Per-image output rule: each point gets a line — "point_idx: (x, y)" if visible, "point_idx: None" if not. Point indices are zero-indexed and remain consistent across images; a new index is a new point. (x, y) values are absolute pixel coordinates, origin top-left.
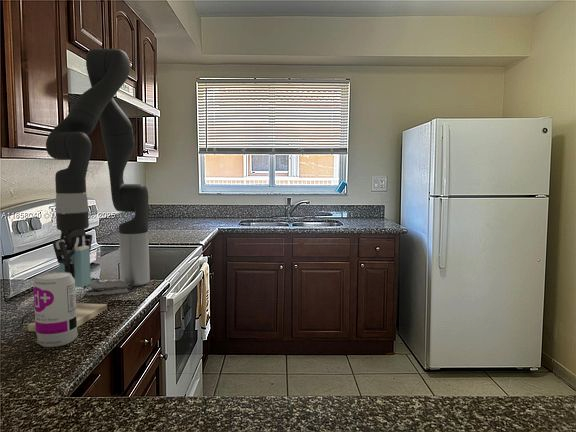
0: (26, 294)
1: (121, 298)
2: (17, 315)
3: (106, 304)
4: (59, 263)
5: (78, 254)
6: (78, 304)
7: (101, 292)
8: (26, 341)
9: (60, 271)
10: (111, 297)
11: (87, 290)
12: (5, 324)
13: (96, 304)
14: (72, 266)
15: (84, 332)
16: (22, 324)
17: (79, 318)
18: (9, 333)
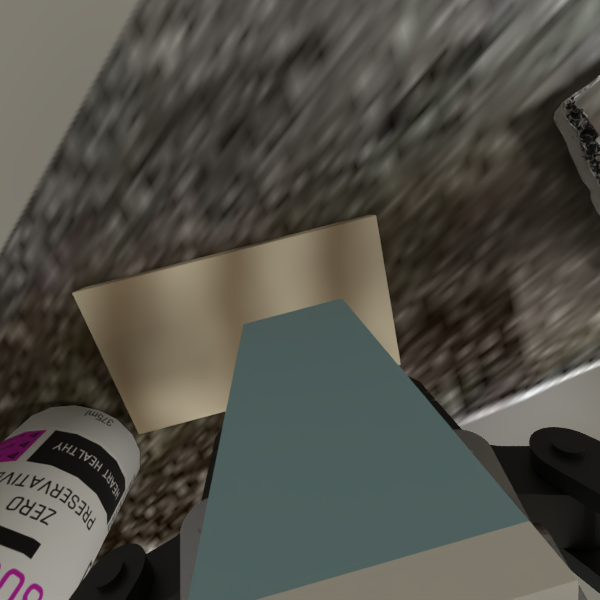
0: None
1: (535, 296)
2: (191, 40)
3: (398, 364)
4: (225, 420)
5: None
6: (363, 259)
7: (587, 168)
8: (22, 369)
9: (236, 377)
10: (543, 246)
11: (576, 107)
12: (81, 114)
13: (387, 329)
14: None
15: (179, 458)
16: (122, 191)
17: (223, 405)
18: (29, 241)
